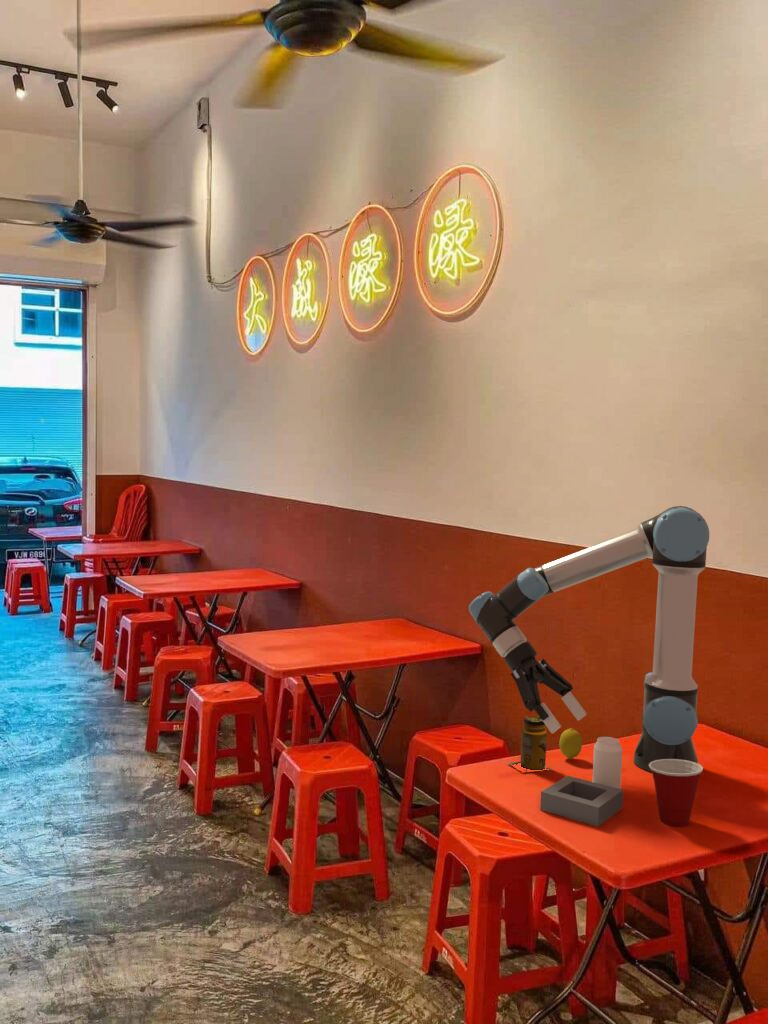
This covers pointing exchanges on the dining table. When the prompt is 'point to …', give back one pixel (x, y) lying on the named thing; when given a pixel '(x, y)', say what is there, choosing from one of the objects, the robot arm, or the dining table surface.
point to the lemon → (570, 743)
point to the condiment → (533, 744)
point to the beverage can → (607, 762)
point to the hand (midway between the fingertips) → (570, 723)
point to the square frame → (582, 800)
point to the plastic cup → (675, 789)
